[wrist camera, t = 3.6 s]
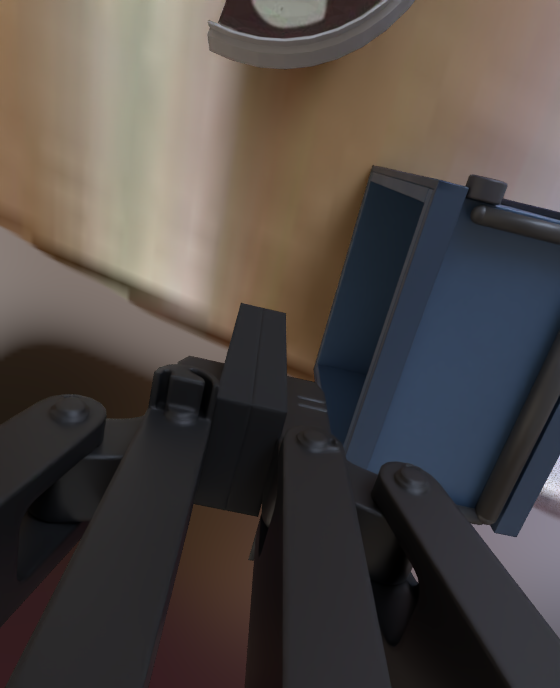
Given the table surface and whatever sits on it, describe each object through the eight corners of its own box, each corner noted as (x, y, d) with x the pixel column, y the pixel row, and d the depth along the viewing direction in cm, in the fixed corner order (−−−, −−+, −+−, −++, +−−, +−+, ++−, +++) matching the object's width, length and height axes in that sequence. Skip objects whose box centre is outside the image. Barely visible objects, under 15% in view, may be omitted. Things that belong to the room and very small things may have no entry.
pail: (374, 157, 27) (450, 167, 15) (512, 193, 28) (693, 231, 15) (311, 375, 32) (329, 518, 20) (430, 401, 33) (518, 555, 20)
